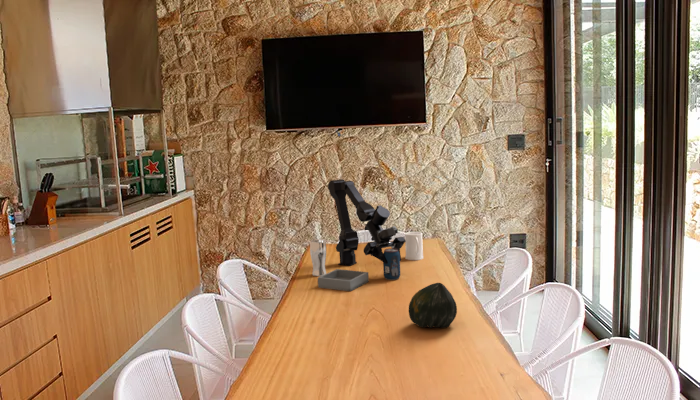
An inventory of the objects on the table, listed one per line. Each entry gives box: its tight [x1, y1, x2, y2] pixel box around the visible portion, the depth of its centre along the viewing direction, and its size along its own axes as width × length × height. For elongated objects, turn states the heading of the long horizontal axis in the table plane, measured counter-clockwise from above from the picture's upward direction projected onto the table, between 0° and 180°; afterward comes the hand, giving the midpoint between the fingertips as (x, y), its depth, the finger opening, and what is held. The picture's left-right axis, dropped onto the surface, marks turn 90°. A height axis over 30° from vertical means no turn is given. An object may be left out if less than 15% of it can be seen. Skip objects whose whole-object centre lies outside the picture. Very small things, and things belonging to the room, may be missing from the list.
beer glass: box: [309, 238, 327, 277], centre depth 266 cm, size 7×7×15 cm
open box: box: [317, 268, 370, 292], centre depth 250 cm, size 15×15×4 cm
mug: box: [404, 231, 424, 261], centre depth 288 cm, size 12×8×12 cm
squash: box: [408, 282, 458, 329], centre depth 197 cm, size 14×15×15 cm
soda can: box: [382, 247, 401, 281], centre depth 256 cm, size 7×7×12 cm
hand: (393, 262), depth 255 cm, fingers closed on soda can, 7 cm apart
